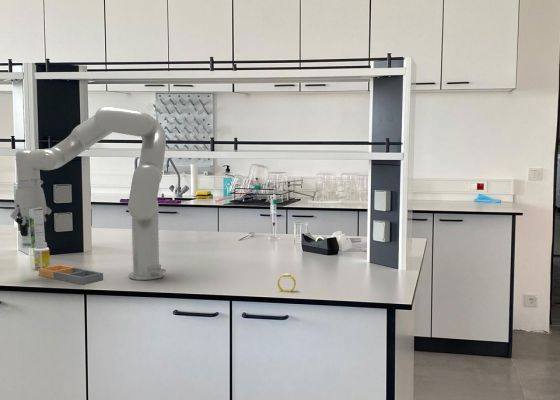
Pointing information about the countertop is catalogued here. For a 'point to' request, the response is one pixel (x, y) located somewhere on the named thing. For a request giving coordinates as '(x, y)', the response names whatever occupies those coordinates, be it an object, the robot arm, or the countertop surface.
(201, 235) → the countertop surface
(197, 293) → the countertop surface
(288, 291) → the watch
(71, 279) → the compartment tray
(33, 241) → the syrup box
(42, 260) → the supplement bottle
